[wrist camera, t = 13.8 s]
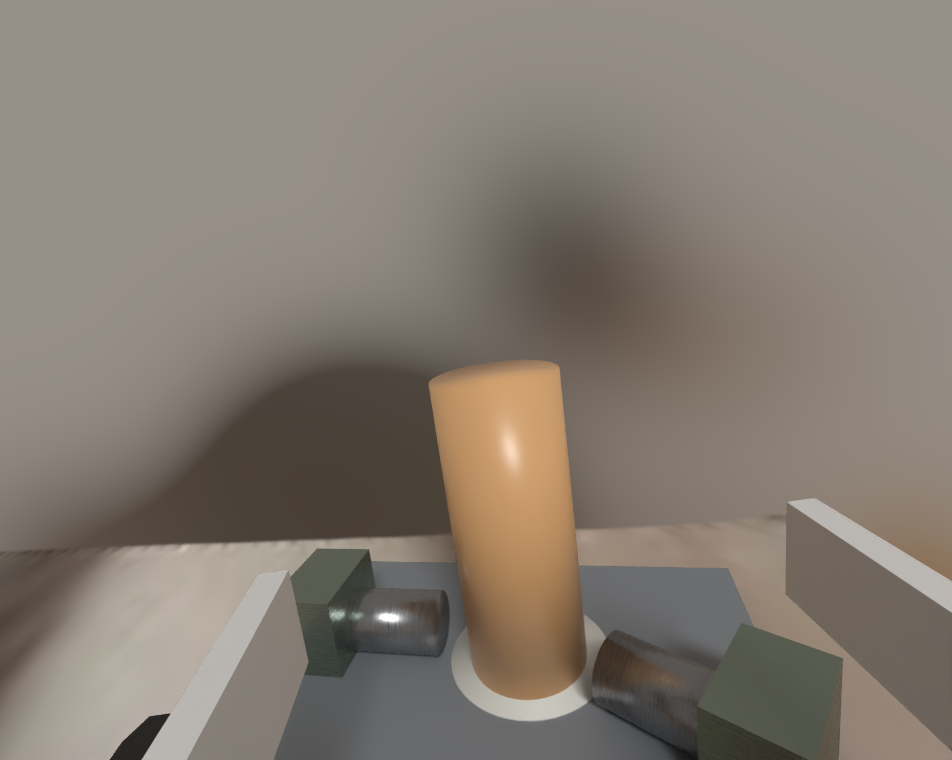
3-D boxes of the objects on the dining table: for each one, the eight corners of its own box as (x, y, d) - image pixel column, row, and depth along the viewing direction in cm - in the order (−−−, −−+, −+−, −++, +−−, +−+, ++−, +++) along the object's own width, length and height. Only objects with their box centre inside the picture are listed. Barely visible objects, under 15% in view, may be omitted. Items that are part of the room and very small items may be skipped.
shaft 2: (583, 736, 19) (575, 647, 18) (636, 661, 22) (631, 584, 21) (812, 875, 14) (815, 763, 13) (839, 755, 17) (842, 658, 16)
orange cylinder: (459, 694, 21) (410, 396, 18) (485, 611, 26) (449, 365, 23) (586, 705, 20) (553, 386, 17) (588, 615, 25) (563, 356, 22)
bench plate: (201, 791, 20) (194, 768, 19) (358, 574, 33) (355, 559, 33) (855, 887, 14) (857, 857, 14) (728, 584, 28) (727, 566, 27)
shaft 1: (283, 673, 24) (267, 601, 23) (329, 611, 28) (317, 548, 27) (431, 684, 22) (418, 608, 21) (456, 616, 26) (447, 550, 25)
